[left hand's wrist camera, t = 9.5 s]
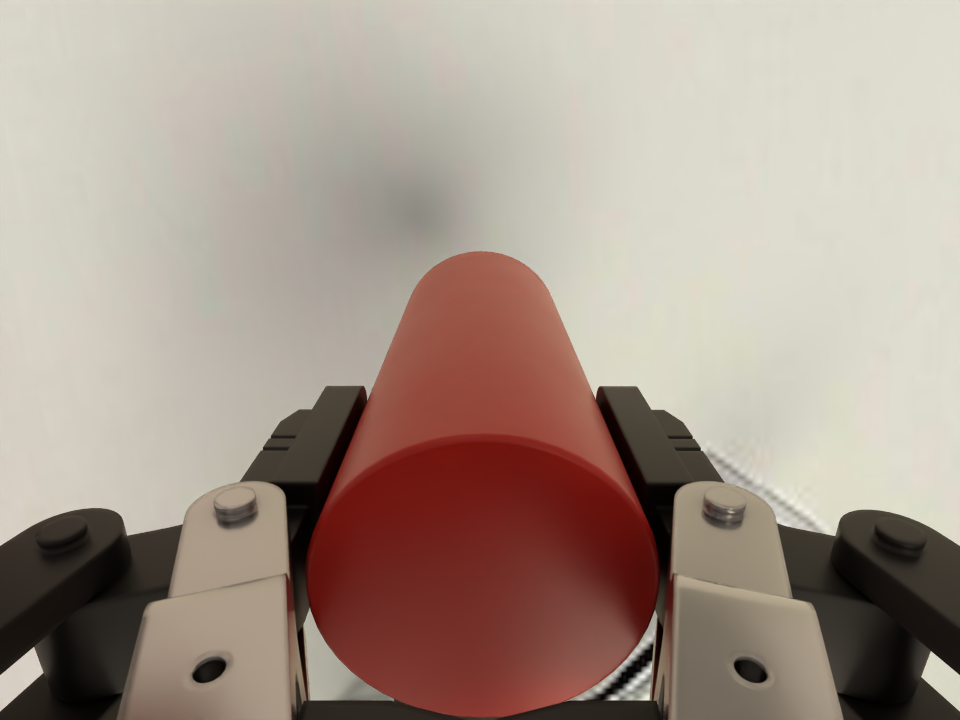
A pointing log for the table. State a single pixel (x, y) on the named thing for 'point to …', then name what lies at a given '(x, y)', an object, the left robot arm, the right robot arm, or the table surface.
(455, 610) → the red cylinder
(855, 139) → the table surface
